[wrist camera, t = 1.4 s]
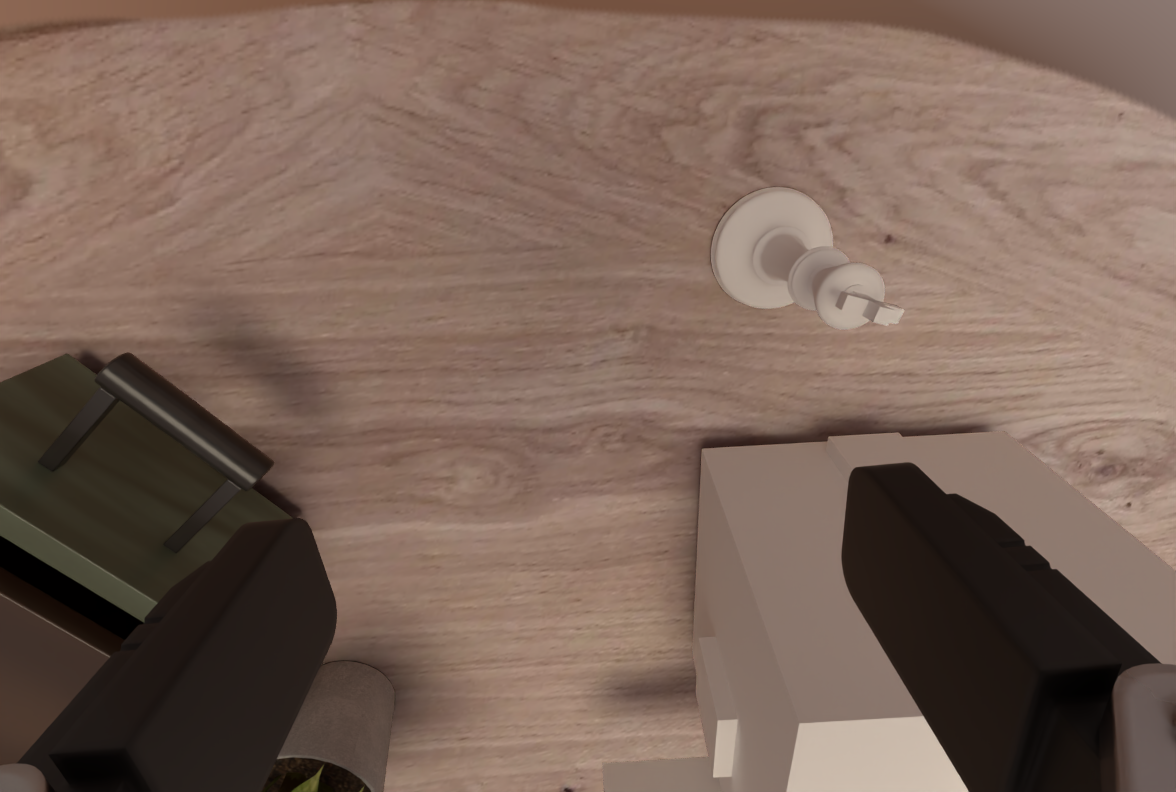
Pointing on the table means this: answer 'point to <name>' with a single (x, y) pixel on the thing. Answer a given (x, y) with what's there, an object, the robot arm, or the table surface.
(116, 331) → the table surface
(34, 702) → the cabinet
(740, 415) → the table surface
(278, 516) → the drawer
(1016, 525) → the white voxel figure
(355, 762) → the house plant
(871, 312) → the chess piece
